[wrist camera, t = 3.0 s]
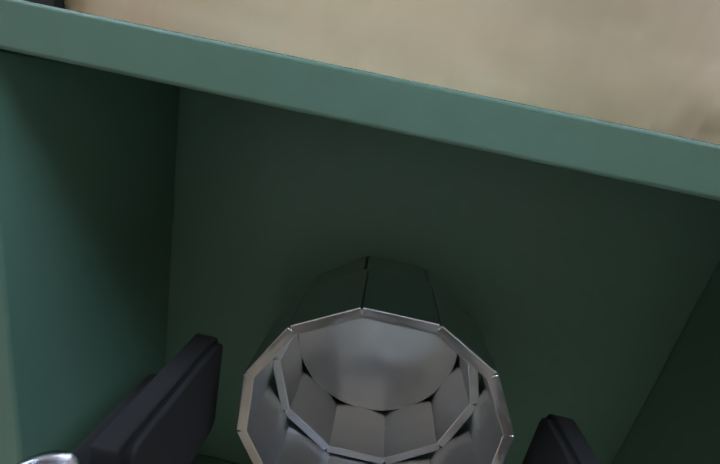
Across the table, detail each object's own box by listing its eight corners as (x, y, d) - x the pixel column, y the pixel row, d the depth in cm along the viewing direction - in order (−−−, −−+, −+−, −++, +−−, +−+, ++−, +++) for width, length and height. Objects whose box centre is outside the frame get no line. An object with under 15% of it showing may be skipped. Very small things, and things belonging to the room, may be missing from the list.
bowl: (299, 230, 13) (254, 283, 9) (499, 273, 13) (551, 349, 9) (273, 393, 15) (226, 500, 11) (445, 433, 15) (465, 557, 11)
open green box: (154, 439, 17) (10, 631, 11) (172, 54, 12) (-73, -20, 6) (573, 538, 17) (688, 802, 10) (764, 178, 12) (1210, 245, 5)
